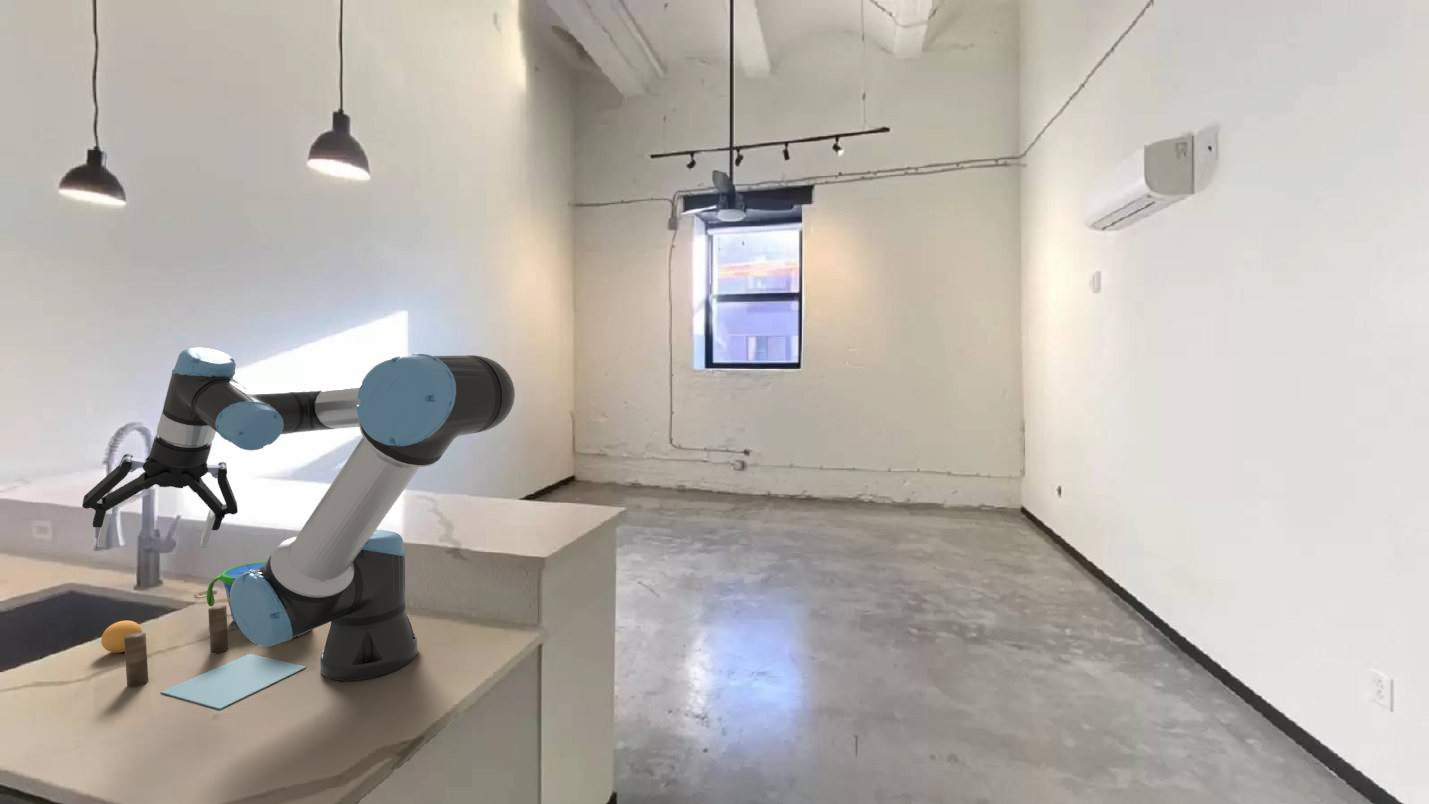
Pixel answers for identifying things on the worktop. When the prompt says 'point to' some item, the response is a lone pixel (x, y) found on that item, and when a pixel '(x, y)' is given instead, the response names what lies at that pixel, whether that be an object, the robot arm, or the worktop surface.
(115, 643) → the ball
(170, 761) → the worktop surface
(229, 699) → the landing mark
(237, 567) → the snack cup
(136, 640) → the left post
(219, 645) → the right post
